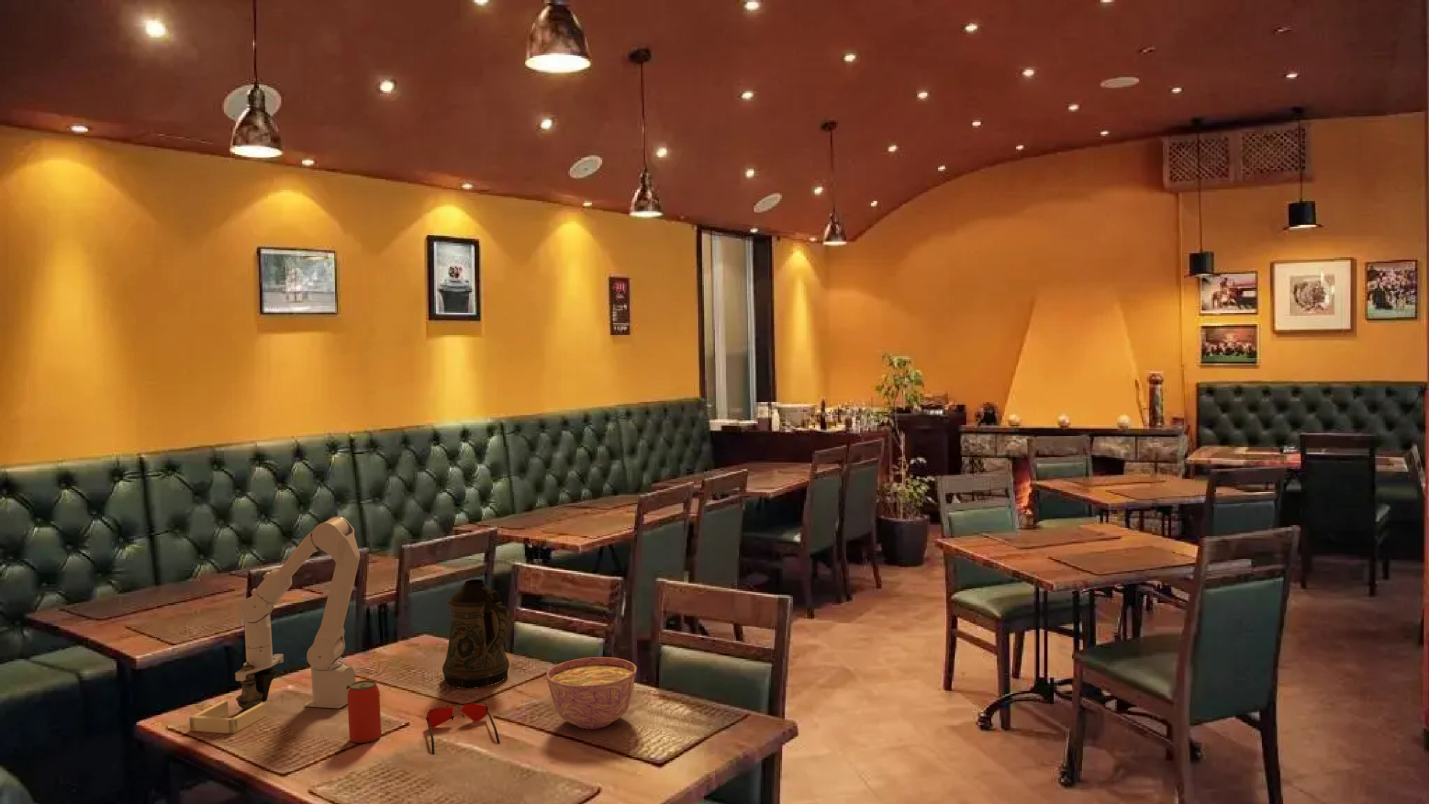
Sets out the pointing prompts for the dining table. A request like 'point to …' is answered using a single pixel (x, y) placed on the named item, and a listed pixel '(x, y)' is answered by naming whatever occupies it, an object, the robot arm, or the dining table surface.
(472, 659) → the beer stein
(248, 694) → the dark bronze turned piece
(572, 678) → the bowl of food
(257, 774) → the dining table surface
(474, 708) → the glasses
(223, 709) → the holder
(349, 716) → the beer can
